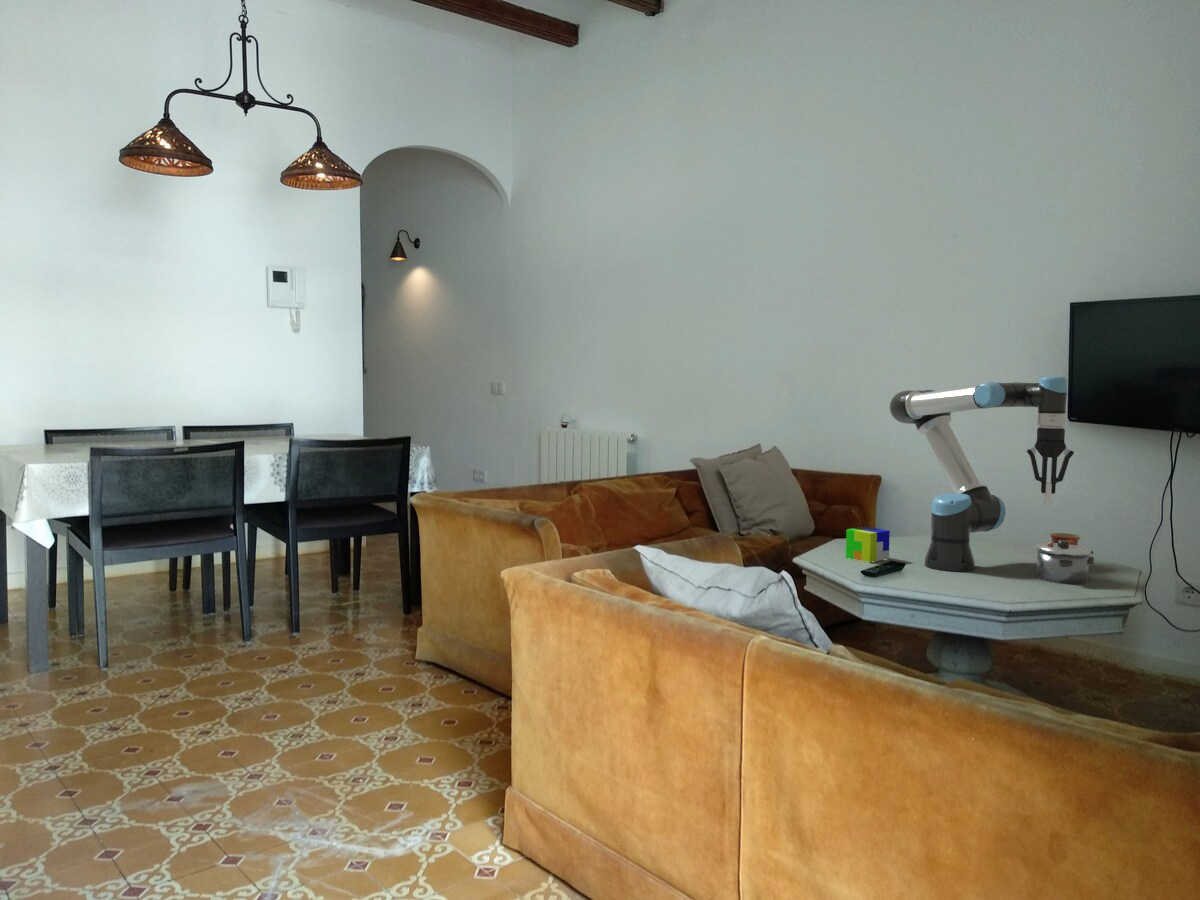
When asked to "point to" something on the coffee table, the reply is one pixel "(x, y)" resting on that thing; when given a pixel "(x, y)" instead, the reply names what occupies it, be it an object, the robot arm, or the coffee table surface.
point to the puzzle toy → (867, 544)
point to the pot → (1063, 568)
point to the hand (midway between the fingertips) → (1047, 503)
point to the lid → (1063, 548)
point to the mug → (1065, 538)
